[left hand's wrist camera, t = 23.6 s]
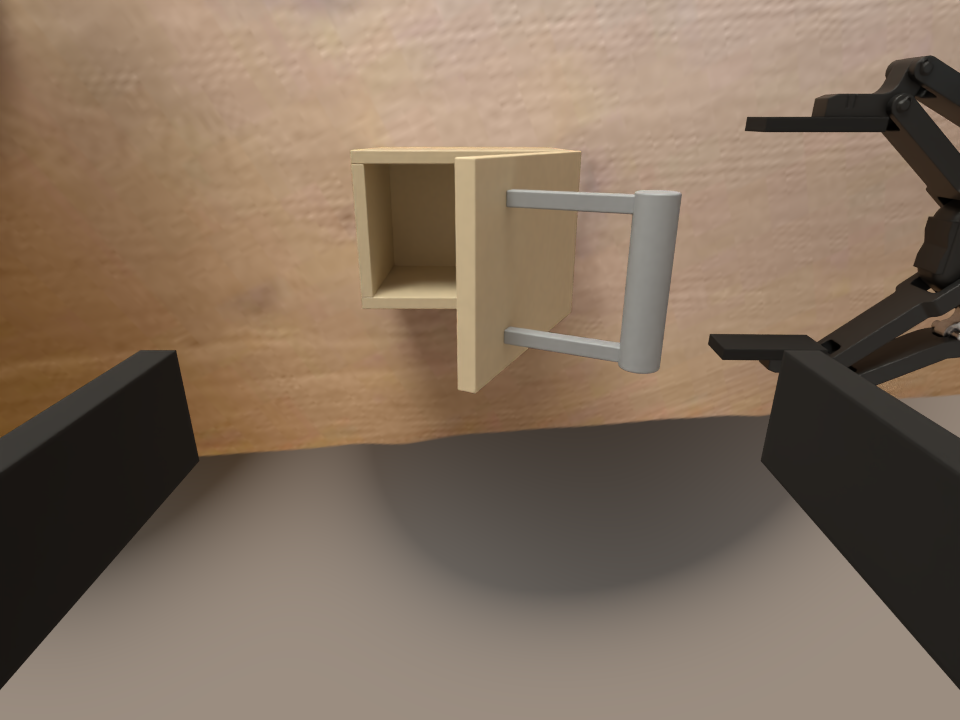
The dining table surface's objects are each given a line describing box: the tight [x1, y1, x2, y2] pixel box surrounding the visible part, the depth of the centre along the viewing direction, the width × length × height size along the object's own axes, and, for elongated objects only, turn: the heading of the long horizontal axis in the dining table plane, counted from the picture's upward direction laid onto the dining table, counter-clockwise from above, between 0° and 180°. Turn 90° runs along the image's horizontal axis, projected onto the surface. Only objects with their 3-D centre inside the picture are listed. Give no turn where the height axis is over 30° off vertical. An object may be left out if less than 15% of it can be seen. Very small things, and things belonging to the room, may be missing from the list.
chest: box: [350, 147, 571, 309], centre depth 40 cm, size 13×10×10 cm
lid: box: [455, 151, 682, 393], centre depth 27 cm, size 14×10×8 cm
